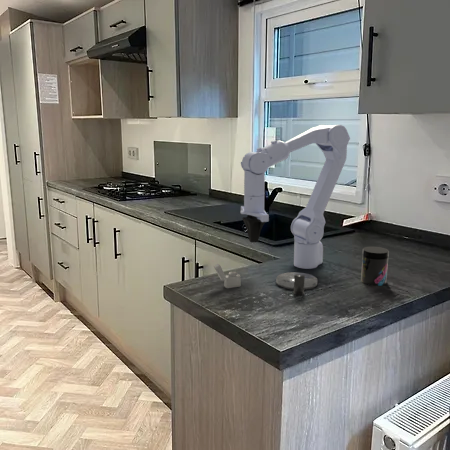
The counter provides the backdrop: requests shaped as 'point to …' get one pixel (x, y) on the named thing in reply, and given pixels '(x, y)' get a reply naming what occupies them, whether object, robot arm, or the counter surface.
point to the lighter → (228, 277)
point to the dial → (296, 282)
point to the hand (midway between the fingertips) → (253, 241)
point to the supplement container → (374, 266)
